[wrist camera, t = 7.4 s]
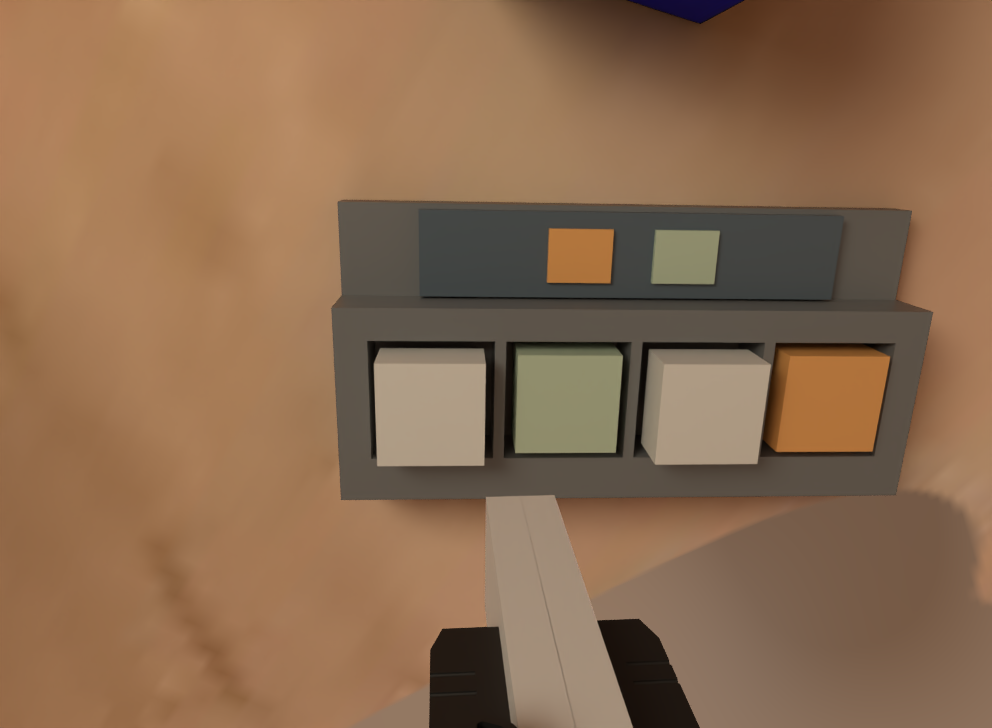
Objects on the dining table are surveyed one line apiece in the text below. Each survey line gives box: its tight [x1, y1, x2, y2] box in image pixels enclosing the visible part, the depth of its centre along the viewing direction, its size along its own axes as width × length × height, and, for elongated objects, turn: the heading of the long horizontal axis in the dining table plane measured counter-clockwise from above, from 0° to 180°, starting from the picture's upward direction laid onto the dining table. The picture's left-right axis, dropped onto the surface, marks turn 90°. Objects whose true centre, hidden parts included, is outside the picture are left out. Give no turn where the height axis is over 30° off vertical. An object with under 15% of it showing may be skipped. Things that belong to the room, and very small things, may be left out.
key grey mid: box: [641, 349, 771, 465], centre depth 26 cm, size 4×4×2 cm
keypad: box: [331, 200, 933, 500], centre depth 27 cm, size 22×11×4 cm, turn 89°
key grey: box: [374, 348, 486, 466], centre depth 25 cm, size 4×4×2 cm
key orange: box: [763, 343, 890, 452], centre depth 27 cm, size 4×4×2 cm
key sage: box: [511, 342, 623, 453], centre depth 26 cm, size 4×4×2 cm
